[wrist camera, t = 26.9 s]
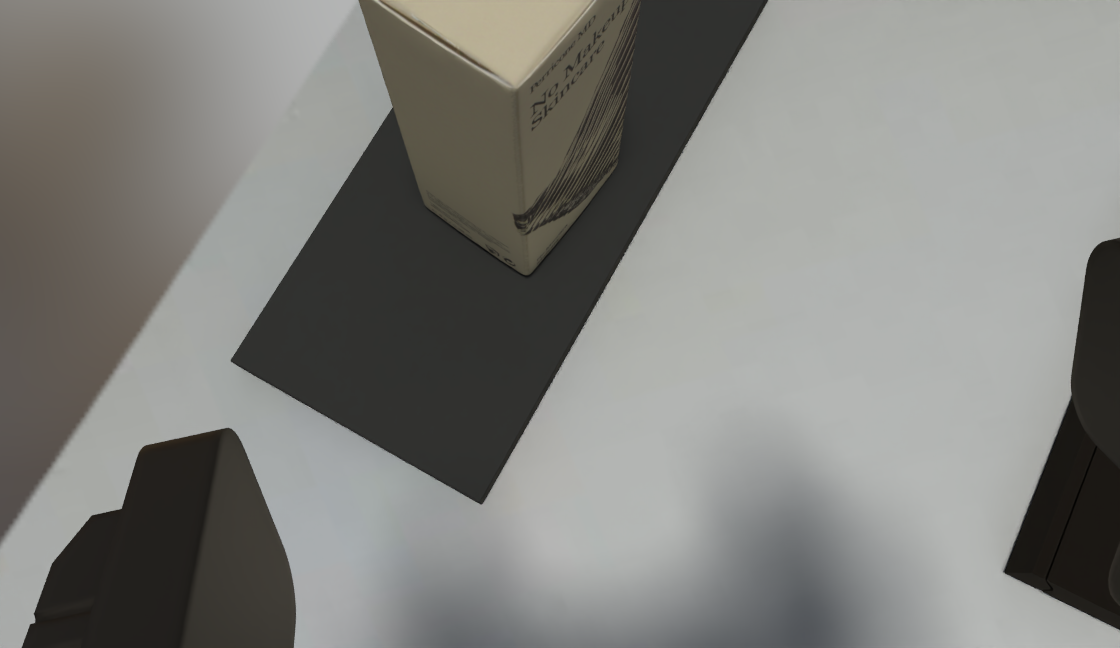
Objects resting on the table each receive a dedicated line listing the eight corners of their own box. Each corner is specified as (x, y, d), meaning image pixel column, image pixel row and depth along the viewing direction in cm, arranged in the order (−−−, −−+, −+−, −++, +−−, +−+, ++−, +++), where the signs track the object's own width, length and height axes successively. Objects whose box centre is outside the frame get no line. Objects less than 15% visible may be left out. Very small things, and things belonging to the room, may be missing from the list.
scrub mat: (481, 505, 32) (479, 503, 31) (239, 366, 33) (229, 360, 32) (768, -2, 36) (774, -17, 35) (544, -112, 37) (543, -130, 36)
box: (528, 283, 33) (509, 108, 20) (419, 204, 34) (336, -12, 21) (626, 158, 34) (665, -82, 21) (518, 84, 35) (496, -192, 22)
